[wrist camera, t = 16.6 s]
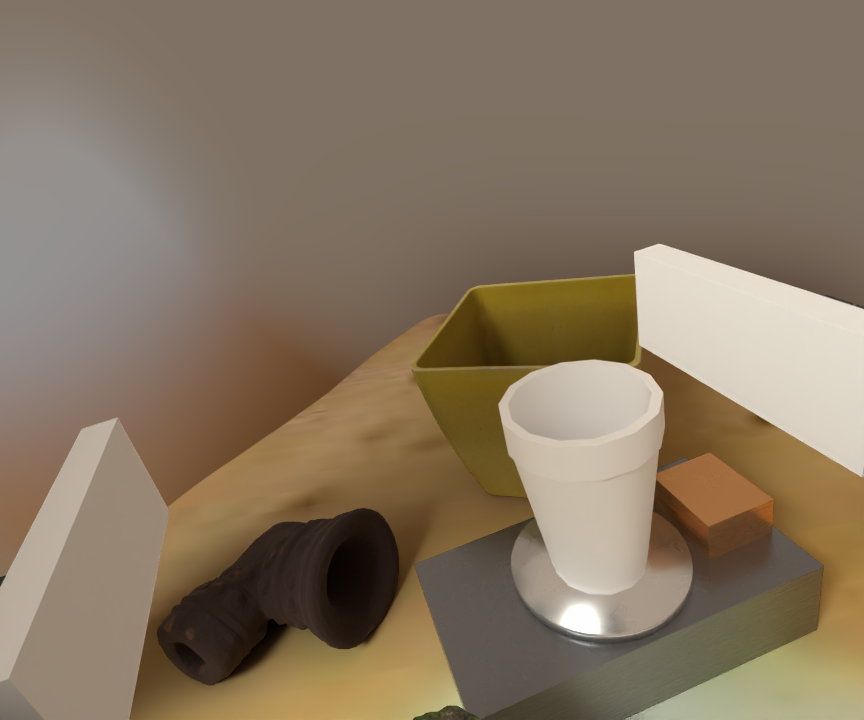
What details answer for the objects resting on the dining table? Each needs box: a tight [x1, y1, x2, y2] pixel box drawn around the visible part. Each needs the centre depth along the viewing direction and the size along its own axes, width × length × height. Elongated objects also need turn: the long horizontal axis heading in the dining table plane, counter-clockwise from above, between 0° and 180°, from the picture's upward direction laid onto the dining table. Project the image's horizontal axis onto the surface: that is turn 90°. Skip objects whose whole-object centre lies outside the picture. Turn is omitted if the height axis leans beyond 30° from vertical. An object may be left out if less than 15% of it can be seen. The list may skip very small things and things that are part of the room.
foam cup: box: [498, 360, 665, 595], centre depth 37 cm, size 10×9×13 cm
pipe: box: [157, 508, 399, 685], centre depth 48 cm, size 10×15×15 cm
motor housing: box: [414, 452, 823, 720], centre depth 40 cm, size 24×13×9 cm, turn 106°
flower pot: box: [411, 274, 644, 498], centre depth 57 cm, size 19×19×17 cm
